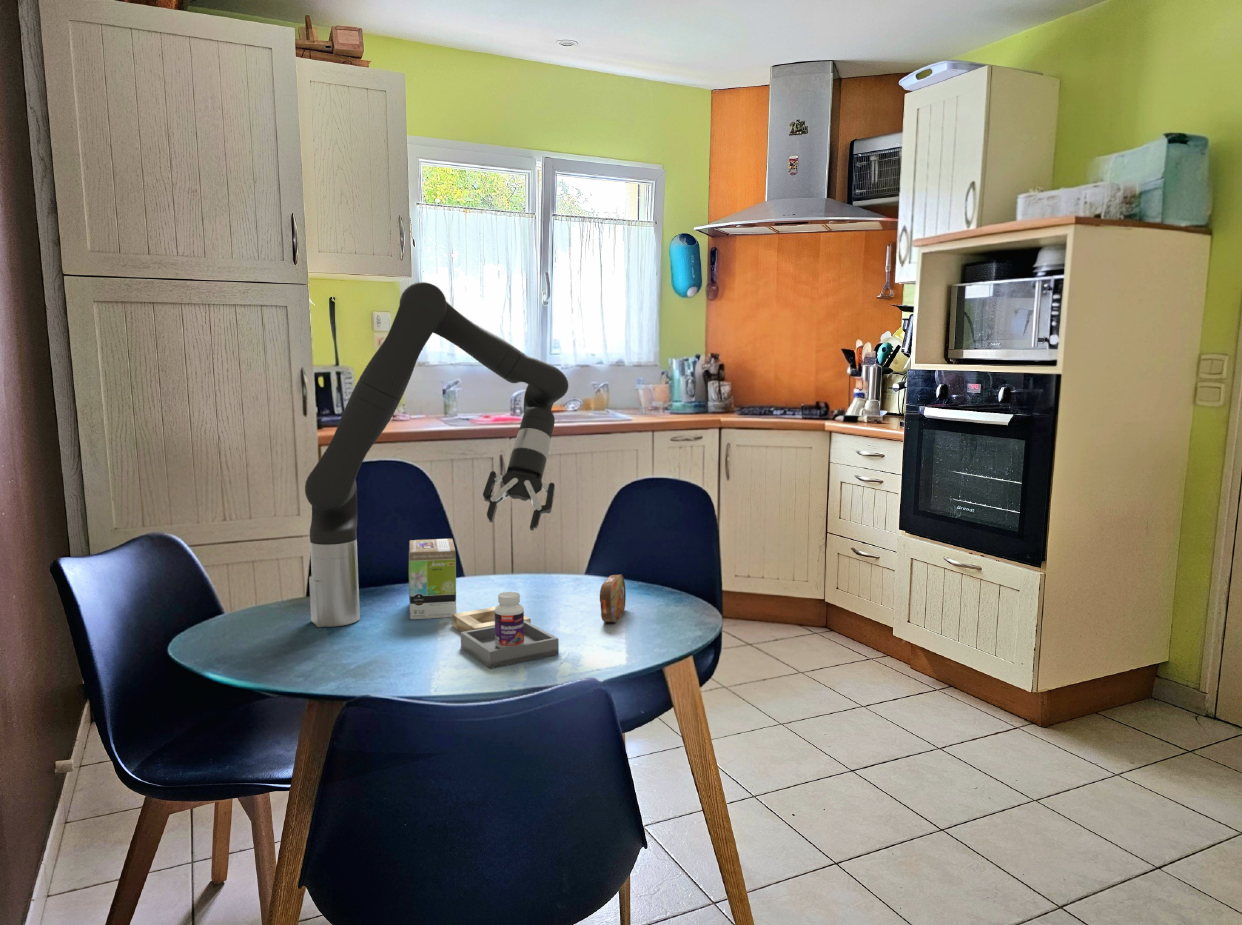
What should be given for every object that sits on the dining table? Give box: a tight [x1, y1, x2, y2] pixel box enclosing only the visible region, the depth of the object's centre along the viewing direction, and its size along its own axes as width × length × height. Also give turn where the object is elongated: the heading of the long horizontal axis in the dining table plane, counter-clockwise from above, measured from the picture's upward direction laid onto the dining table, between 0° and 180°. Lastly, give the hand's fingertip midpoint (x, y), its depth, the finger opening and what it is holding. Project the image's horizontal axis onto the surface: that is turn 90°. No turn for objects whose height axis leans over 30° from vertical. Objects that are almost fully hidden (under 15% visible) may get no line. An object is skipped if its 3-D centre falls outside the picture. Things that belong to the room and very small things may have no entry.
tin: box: [599, 574, 627, 624], centre depth 175 cm, size 15×3×8 cm, turn 168°
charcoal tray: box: [460, 621, 560, 670], centre depth 153 cm, size 14×14×3 cm
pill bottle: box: [495, 591, 525, 648], centre depth 153 cm, size 5×5×10 cm
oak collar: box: [451, 606, 532, 633], centre depth 167 cm, size 12×12×2 cm
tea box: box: [408, 538, 457, 620], centre depth 181 cm, size 15×10×15 cm, turn 14°
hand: (511, 525), depth 167 cm, fingers open, 8 cm apart
